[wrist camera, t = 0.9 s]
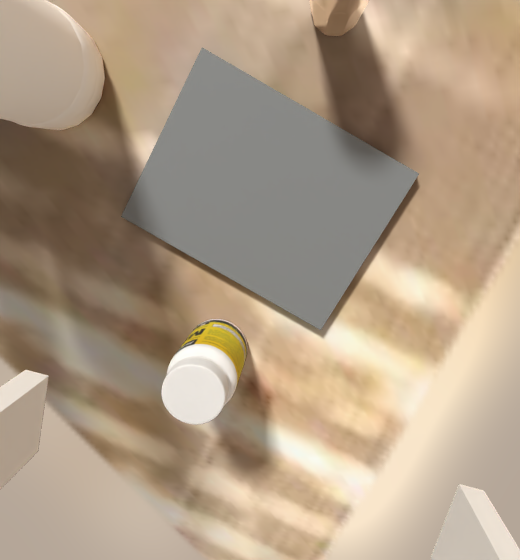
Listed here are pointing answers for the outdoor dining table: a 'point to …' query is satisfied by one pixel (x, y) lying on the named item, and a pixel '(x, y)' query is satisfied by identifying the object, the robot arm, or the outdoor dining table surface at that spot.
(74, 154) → the outdoor dining table surface
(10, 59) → the bottle
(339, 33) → the milkshake
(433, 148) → the outdoor dining table surface
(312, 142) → the slate mat
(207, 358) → the supplement bottle
